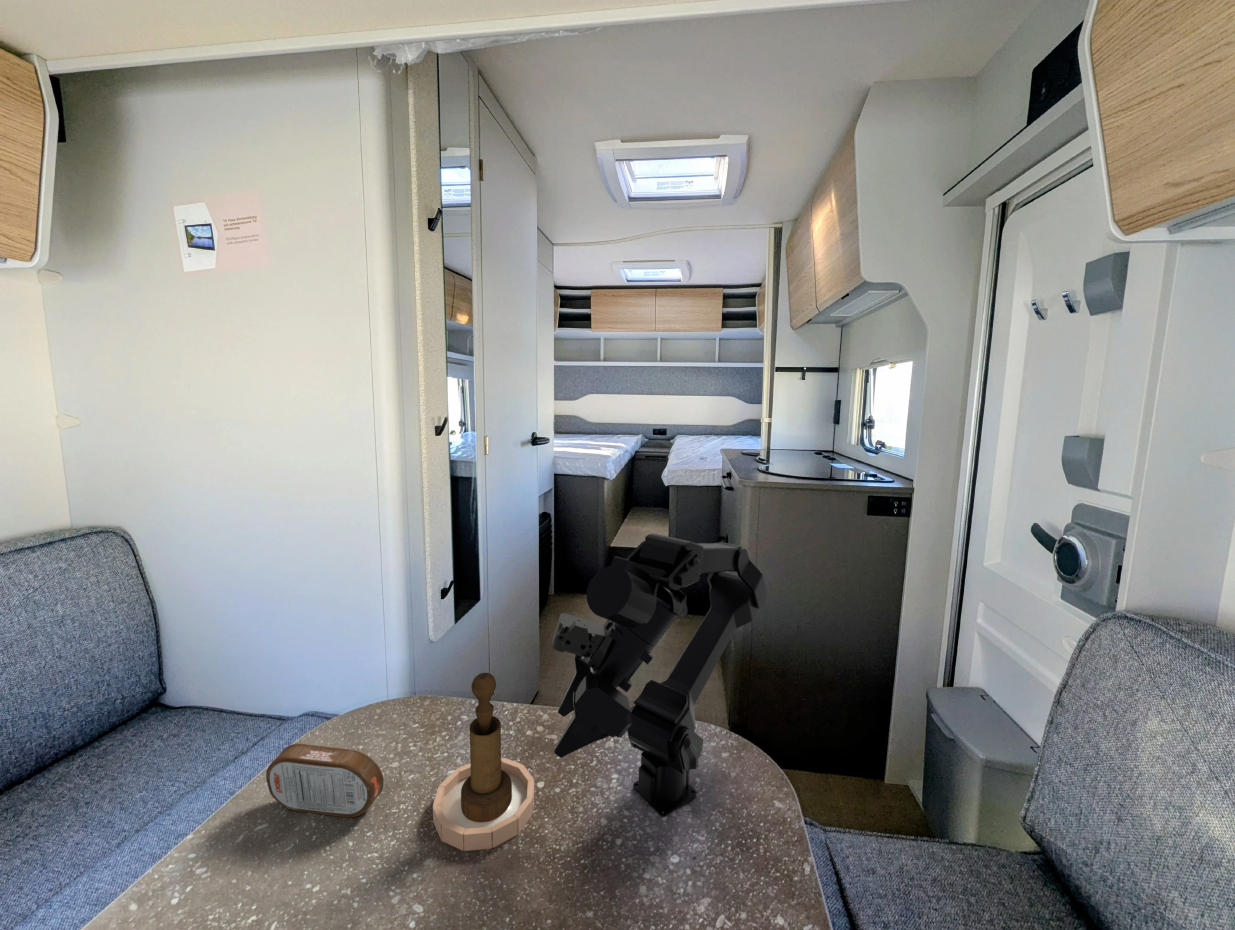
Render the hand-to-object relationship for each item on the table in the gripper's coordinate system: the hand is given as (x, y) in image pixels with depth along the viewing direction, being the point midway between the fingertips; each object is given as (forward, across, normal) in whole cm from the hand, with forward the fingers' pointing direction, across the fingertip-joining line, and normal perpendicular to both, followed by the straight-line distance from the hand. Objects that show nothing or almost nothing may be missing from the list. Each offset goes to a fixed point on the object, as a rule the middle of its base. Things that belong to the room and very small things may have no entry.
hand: (559, 732), depth 61 cm
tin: (+29, -7, -16) cm, 34 cm away
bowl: (+16, -6, 0) cm, 17 cm away
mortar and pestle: (+16, -6, 0) cm, 17 cm away
